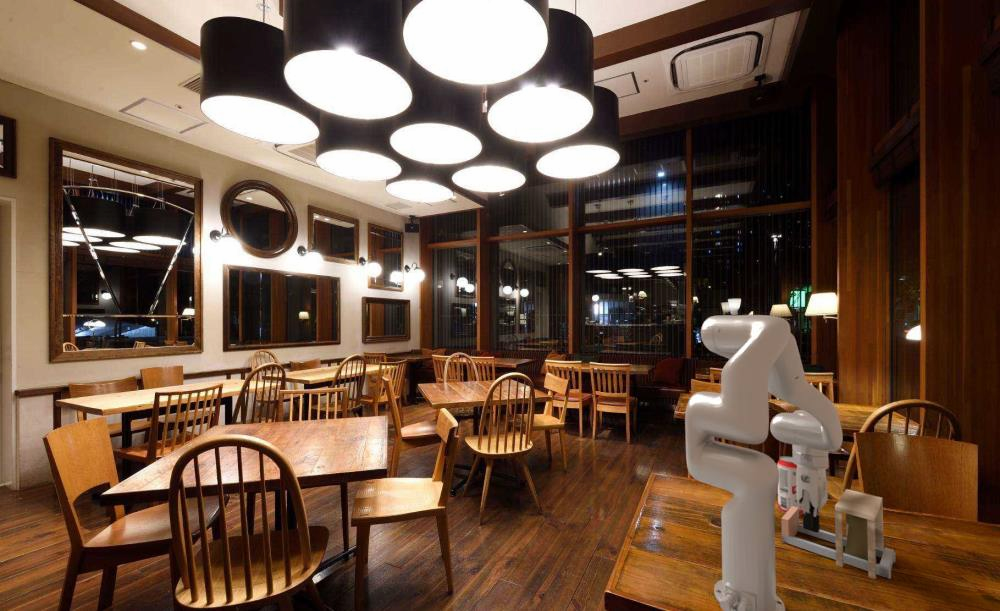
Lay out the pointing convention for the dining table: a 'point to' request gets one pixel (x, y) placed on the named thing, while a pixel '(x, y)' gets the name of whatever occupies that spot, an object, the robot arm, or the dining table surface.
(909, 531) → the dining table surface
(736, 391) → the robot arm
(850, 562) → the sled
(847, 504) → the stool
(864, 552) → the cork
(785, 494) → the beer can
